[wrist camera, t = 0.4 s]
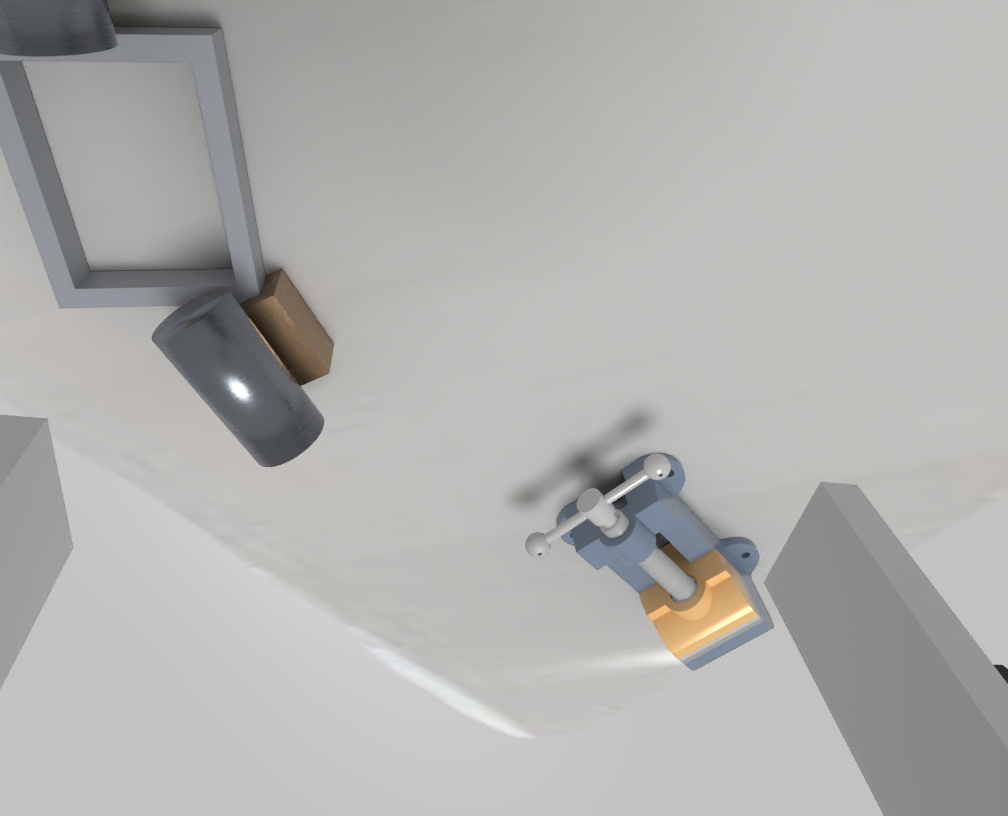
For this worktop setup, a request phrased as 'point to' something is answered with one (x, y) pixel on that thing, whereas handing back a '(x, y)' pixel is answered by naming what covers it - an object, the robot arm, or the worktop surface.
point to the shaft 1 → (55, 27)
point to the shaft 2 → (253, 364)
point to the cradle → (18, 130)
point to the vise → (667, 560)
